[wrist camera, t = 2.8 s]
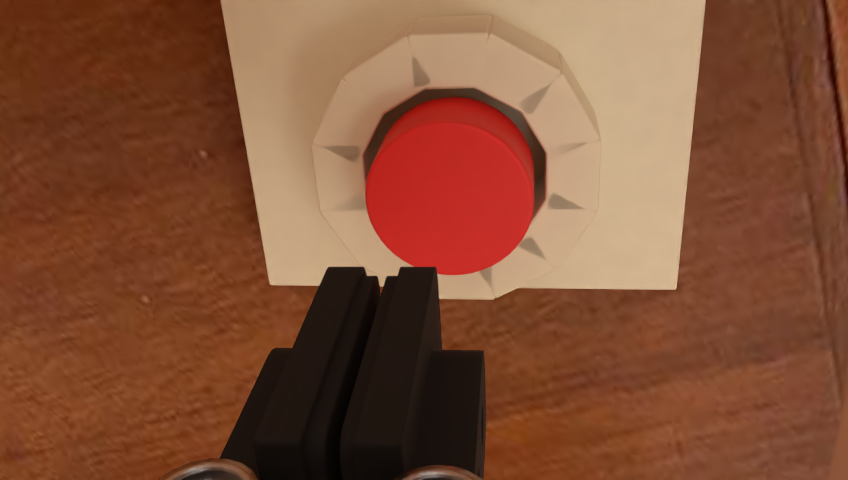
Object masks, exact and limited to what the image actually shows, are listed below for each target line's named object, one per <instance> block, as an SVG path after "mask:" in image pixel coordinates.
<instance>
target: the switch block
mask: <svg viewBox="0 0 848 480" xmlns="http://www.w3.org/2000/svg"><path fill="white" fill-rule="evenodd" d="M220 1H221V6H222V12H223V18H224V24H225V29H226V35H227V41H228V47H229V52H230V58H231V64H232V70H233V75H234V81H235V87H236V93H237V99H238V104H239V110H240V116H241V122H242V127H243V133H244V139H245V145H246V150H247V156H248V162H249V168H250V173H251V179H252V185H253V191H254V196H255V202H256V208H257V214H258V220H259V225H260V231H261V237H262V243H263V248H264V254H265V260H266V266H267V271H268V277H269V283H270V285H299V286H320V283H321V281H322V279H323V276H324V274H325V272H326V270H327V268H328V267H364V268H365V270H366V274H367V276H377V277H378V280H379V286H384V283H385V279H386V277H387V276H398V273H399V269H400V267H414V266H412V265H410V264H408V263H406V262H405V261H403V260H401V259H400V258H399V257H397V256H396V255H395V254H394V253H392V252H391V251H390V250H389V249H388V248H387V247H386V246H385V244H384V243H383V242H382V241H381V240H380V238H379V236H378V235H377V233H376V232H375V230H374V228H373V226H372V224H371V222H370V219H369V216H368V212H367V207H366V202H365V189H366V181H367V177H368V173H369V171H370V168H371V166H372V163H373V161H374V159H375V157H376V155H377V153H378V151H379V148H380V146H381V144H382V142H383V140H384V138H385V136H386V134H387V133H388V131H389V129H390V128H391V127H392V125H393V124H394V123H395V122H396V121H397V120H398V119H399V118H400V117H401V116H402V115H403V114H404V113H406V112H407V111H409V110H410V109H411V108H413V107H415V106H417V105H419V104H421V103H424V102H427V101H430V100H433V99H438V98H445V97H463V98H468V99H474V100H477V101H480V102H483V103H486V104H488V105H490V106H492V107H494V108H496V109H497V110H499V111H501V112H502V113H503V114H505V115H506V116H507V117H508V118H510V119H511V120H512V121H513V123H514V124H515V125H516V126H517V127H518V128H519V130H520V131H521V132H522V134H523V135H524V137H525V139H526V141H527V143H528V145H529V148H530V151H531V154H532V159H533V165H534V209H533V215H532V219H531V223H530V225H529V228H528V230H527V232H526V234H525V236H524V238H523V239H522V241H521V242H520V243H519V245H518V246H517V247H516V248H515V249H514V250H513V251H512V252H511V253H510V254H509V255H508V256H507V257H505V258H504V259H503V260H501V261H500V262H498V263H496V264H495V265H493V266H491V267H489V268H486V269H484V270H481V271H478V272H474V273H470V274H464V275H441V274H437V275H438V289H439V299H487V300H493V299H494V298H498V297H500V296H502V295H504V294H506V293H508V292H510V291H512V290H514V289H517V288H562V289H649V290H675V289H676V288H677V278H678V268H679V258H680V248H681V239H682V229H683V219H684V209H685V199H686V189H687V180H688V170H689V160H690V150H691V140H692V131H693V121H694V111H695V101H696V91H697V82H698V72H699V62H700V52H701V42H702V33H703V23H704V13H705V3H706V0H220Z"/></svg>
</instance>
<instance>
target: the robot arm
mask: <svg viewBox="0 0 848 480" xmlns="http://www.w3.org/2000/svg"><path fill="white" fill-rule="evenodd" d="M485 432H486V394H485V362H484V351H480V350H442V340H441V323H440V306H439V289H438V275H437V269H436V267H400V269H399V273H398V276H387V277H386V279H385V283H384V286H383V290H382V293H381V296H380V286H379V280H378V277H377V276H367V274H366V270H365V268H364V267H328V268H327V270H326V272H325V274H324V276H323V279H322V281H321V283H320V286H319V288H318V290H317V292H316V295H315V297H314V299H313V302H312V304H311V306H310V309H309V311H308V313H307V316H306V318H305V320H304V322H303V325H302V327H301V329H300V332H299V334H298V336H297V339H296V341H295V343H294V346H293V348H275V349H273V350H272V351H271V352H270V354H269V355H268V357H267V359H266V361H265V363H264V366H263V368H262V370H261V372H260V374H259V376H258V378H257V380H256V383H255V385H254V387H253V389H252V391H251V393H250V395H249V397H248V399H247V402H246V404H245V406H244V408H243V410H242V412H241V414H240V416H239V418H238V421H237V423H236V425H235V427H234V429H233V431H232V433H231V435H230V438H229V440H228V442H227V444H226V446H225V448H224V450H223V452H222V454H221V457H220V459H214V458H210V459H205V460H199V461H194V462H191V463H188V464H186V465H183V466H181V467H178V468H176V469H174V470H172V471H171V472H169V473H168V474H166V475H165V476H163V477H161V478H160V479H159V480H483V477H484V458H485Z"/></svg>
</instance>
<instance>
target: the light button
mask: <svg viewBox="0 0 848 480" xmlns="http://www.w3.org/2000/svg"><path fill="white" fill-rule="evenodd" d="M365 202H366V207H367V212H368V216H369V219H370V222H371V224H372V226H373V228H374V230H375V232H376V233H377V235H378V236H379V238H380V240H381V241H382V242H383V243H384V244H385V246H386V247H387V248H388V249H389V250H390V251H391V252H392V253H394V254H395V255H396V256H397V257H399V258H400V259H401V260H403V261H405V262H406V263H408V264H410V265H412V266H414V267H436V269H437V274H441V275H464V274H470V273H474V272H478V271H481V270H484V269H486V268H489V267H491V266H493V265H495V264H496V263H498V262H500V261H501V260H503V259H504V258H505V257H507V256H508V255H509V254H510V253H511V252H512V251H513V250H514V249H515V248H516V247H517V246H518V245H519V243H520V242H521V241H522V239H523V238H524V236H525V234H526V232H527V230H528V228H529V225H530V223H531V219H532V215H533V209H534V165H533V159H532V154H531V151H530V148H529V145H528V143H527V141H526V139H525V137H524V135H523V134H522V132H521V131H520V130H519V128H518V127H517V126H516V125H515V124H514V123H513V121H512V120H511V119H510V118H508V117H507V116H506V115H505V114H503V113H502V112H501V111H499V110H497V109H496V108H494V107H492V106H490V105H488V104H486V103H483V102H480V101H477V100H474V99H468V98H463V97H445V98H438V99H433V100H430V101H427V102H424V103H421V104H419V105H417V106H415V107H413V108H411V109H410V110H409V111H407V112H406V113H404V114H403V115H402V116H401V117H400V118H399V119H398V120H397V121H396V122H395V123H394V124H393V125H392V127H391V128H390V129H389V131H388V133H387V134H386V136H385V138H384V140H383V142H382V144H381V146H380V148H379V151H378V153H377V155H376V157H375V159H374V161H373V163H372V166H371V168H370V171H369V173H368V177H367V181H366V189H365Z"/></svg>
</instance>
